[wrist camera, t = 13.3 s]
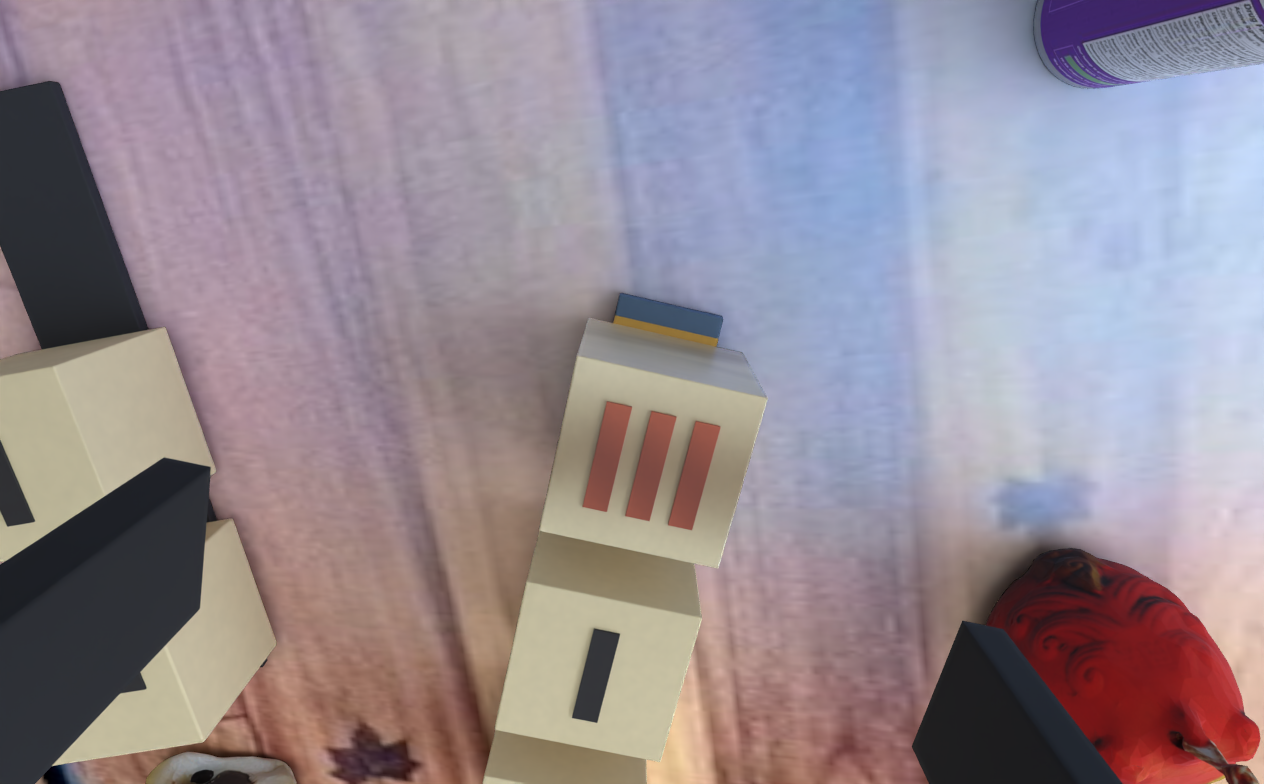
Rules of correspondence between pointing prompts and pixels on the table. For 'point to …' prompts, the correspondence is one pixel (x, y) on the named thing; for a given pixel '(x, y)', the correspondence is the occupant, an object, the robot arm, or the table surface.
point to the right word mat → (599, 639)
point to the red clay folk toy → (1130, 670)
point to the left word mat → (58, 224)
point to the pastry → (220, 770)
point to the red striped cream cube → (653, 444)
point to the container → (1146, 38)
